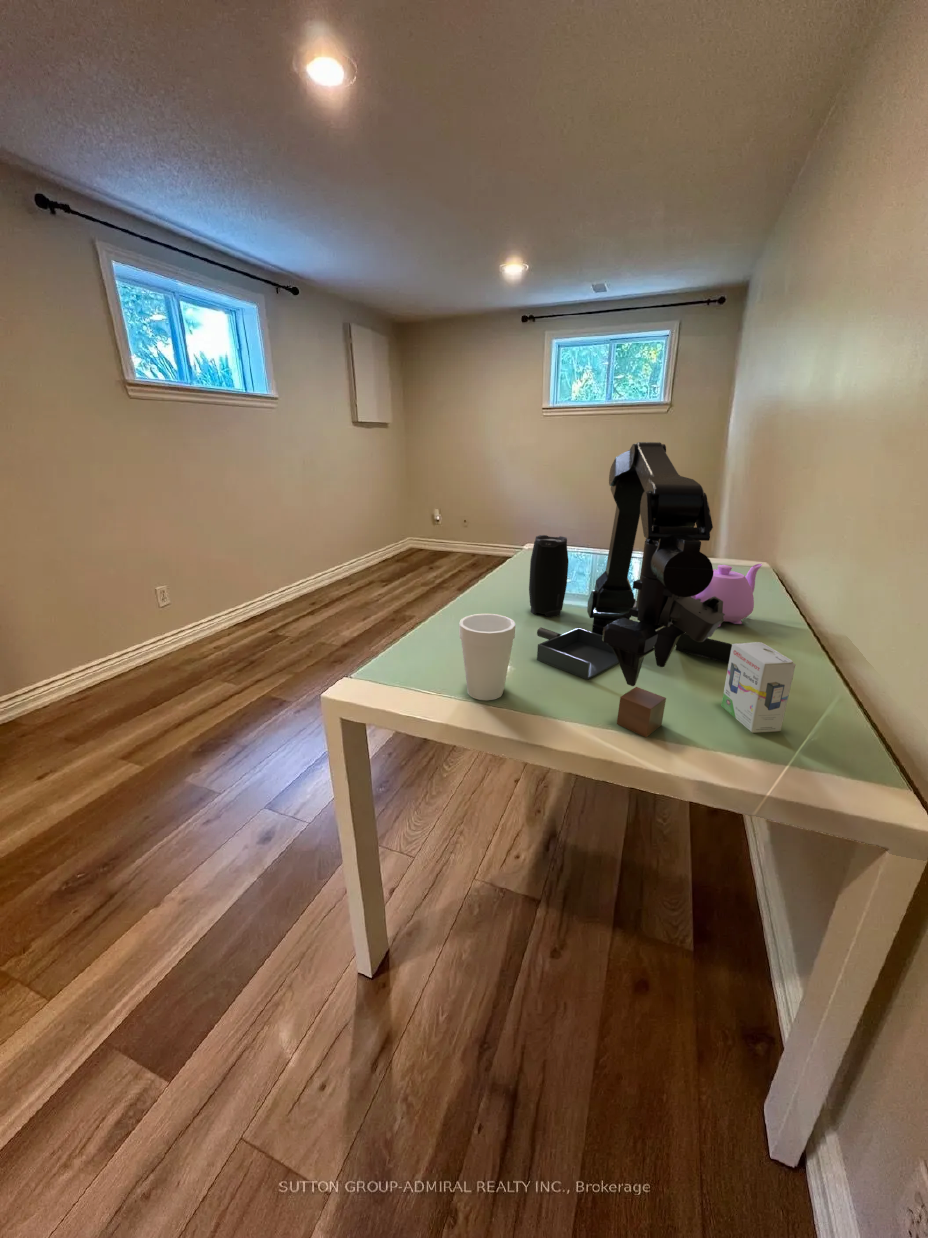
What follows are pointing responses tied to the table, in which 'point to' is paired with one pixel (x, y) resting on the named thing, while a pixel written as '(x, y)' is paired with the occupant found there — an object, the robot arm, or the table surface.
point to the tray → (576, 652)
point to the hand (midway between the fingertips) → (646, 675)
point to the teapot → (732, 592)
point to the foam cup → (486, 653)
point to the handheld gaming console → (705, 648)
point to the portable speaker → (548, 575)
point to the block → (641, 711)
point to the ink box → (757, 686)
